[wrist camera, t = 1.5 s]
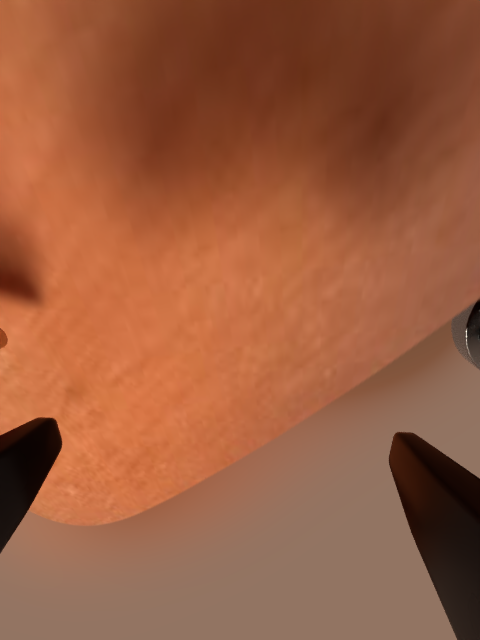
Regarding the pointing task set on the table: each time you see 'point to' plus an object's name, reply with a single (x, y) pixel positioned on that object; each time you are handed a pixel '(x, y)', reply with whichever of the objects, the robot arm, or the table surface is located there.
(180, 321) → the table surface
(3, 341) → the door
